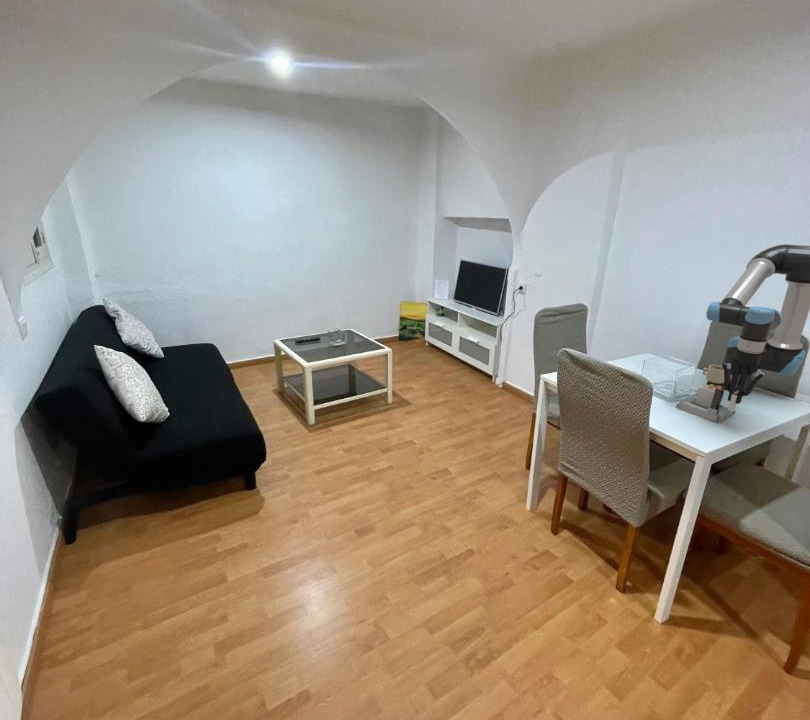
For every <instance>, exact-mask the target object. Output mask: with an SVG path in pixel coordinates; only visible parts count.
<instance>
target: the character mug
mask: <svg viewBox="0 0 810 720" xmlns="http://www.w3.org/2000/svg"><path fill="white" fill-rule="evenodd" d="M706 371H707V372H706ZM701 373H702V375H703V376H705V380H707V382H706V384H705V385H710V384H713V385H714V387H715V386H716V385H720V386H721V383H724V369H723V367H722V365H719V364H709V366H708V368H707V367H704V368H703V369H702V372H701ZM731 378H732V375H731Z"/></svg>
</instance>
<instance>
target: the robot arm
mask: <svg viewBox="0 0 810 720" xmlns="http://www.w3.org/2000/svg"><path fill="white" fill-rule="evenodd" d="M775 274H776V275H777V274H779V275H785V278H784V281H786V283H787V284H788V285H787V289H786V292H785V296H784V299H783V303H782V306H781V310H780V311H779V310H777V309H775V308H770V307H765V306H746V305H748V303H749V301H750V300H751V299H752V298H753V296H754V295H755V293H756V292H758V290H759V289H760V287H761V286H762V285H763V283H764V282H765V280H767V278H770V277H772V276H773V275H775ZM809 312H810V245H799V244H797V245H796V244H779V245H775V246H772V247H769V248H767V249H765V250H762V251H760V252H758V253H757V254H756V255H754V256H753V257H752V258H751V259H750V260H749V262H748V263H747V264H746V269H745V270H744V272H743V273H742V275H741V276H740V277H739V278H738V280H737V281H736V283H735V284H734V285H733V286H732V288H731V289H730V290H729V291H728V293H727V294H726V295H725V296H724V297H723V299H722V300H721V301H712V302H711V303H709V305H708V307H707V310H706V315H705V316H706V320H708V321H711V322H715V323H718V324H719V323H721V324H727V325H731V326H737V327H740V328H741V327H742V328H741V332H740V335H738V336H732V337H731V338H730V339H729V341H728V343H727V345H726V351H725V354H724V357H723V361H722V365H721V366H722V367H723V369H724V383H721V386H724V389H725V391H727V392H728V395H727V401H728V402H729V403H728V406H727V408H728V410H729V411H734V410H735V411H736V408H737V405H738V404H741V402H742V401H743V400H742V399H743V397H748V396H749V395H750V394H751V393H752V392H753V390H754V389H755V388H756V386H757V385H758V383H759V382H760V380H762V378H764V377H765V376H766V373H765V372H763V371H767V372H770V373H775V374H777V375H784V376H792V375H794V374H796V372H797V371H798V370H799V368H800V366H801V365H802V363H803V362H804V360H805V357H806V354H807V351H805V350H803V347H804V345H803V343H801V338H802V335H803V331H804V328H805V325H806V322H807V320H808V315H809ZM773 330H774V334H773V337H772V338H770V339H768V337H769V333H770V331H773ZM767 339H768V340H767ZM761 370H763V371H761ZM731 375H732V378H731ZM754 376H755V377H754Z"/></svg>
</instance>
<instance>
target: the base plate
mask: <svg viewBox="0 0 810 720" xmlns="http://www.w3.org/2000/svg"><path fill="white" fill-rule="evenodd" d="M696 398H697V396H691V397H689V398H685V397H681V398H679V402H678V403H676V405H675V408H677V409H678V410H680V411H684V412H686V413H690V414H692V415H694V416H697V417H700V418H703V419H704V420H708V421H711V422H714V423H716V424H719V423H721V422H723V421H725V420H727V419H729V418H731V417H732V416H734V415H735V414H736V413H737V410H736V409H735V410H734V411H729V410H728V407H727V406H724V405H722V404H720V407H719V408H721V411H720V412H719V413H718V414H717V415H716V414H713V413H710V412H707V410H708V407H705V406H702V405H700V404H697V403H695V402H696Z"/></svg>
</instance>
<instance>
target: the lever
mask: <svg viewBox="0 0 810 720" xmlns="http://www.w3.org/2000/svg"><path fill="white" fill-rule="evenodd" d="M725 391H726V390H725V389H724V386H720V385H716V386H715V392H714V396H713V399H712V403H711V406H710V407H708V410H707V412H710V413H713V414H716V415H717V414H718V413H719V412H720V411H721V408H719V407H720V405H722V404H721V403H722V400H723V396H724V393H725Z"/></svg>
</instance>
